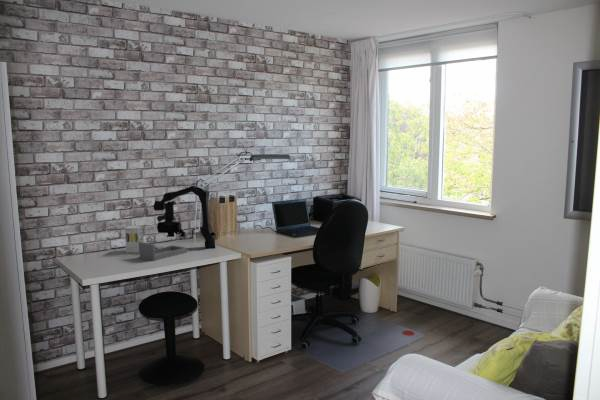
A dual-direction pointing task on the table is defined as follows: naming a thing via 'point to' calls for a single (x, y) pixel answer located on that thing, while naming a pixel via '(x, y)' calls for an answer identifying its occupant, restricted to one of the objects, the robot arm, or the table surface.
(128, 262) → the table surface
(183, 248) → the case
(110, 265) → the table surface
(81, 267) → the table surface
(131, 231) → the supplement box
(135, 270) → the table surface
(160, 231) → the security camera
